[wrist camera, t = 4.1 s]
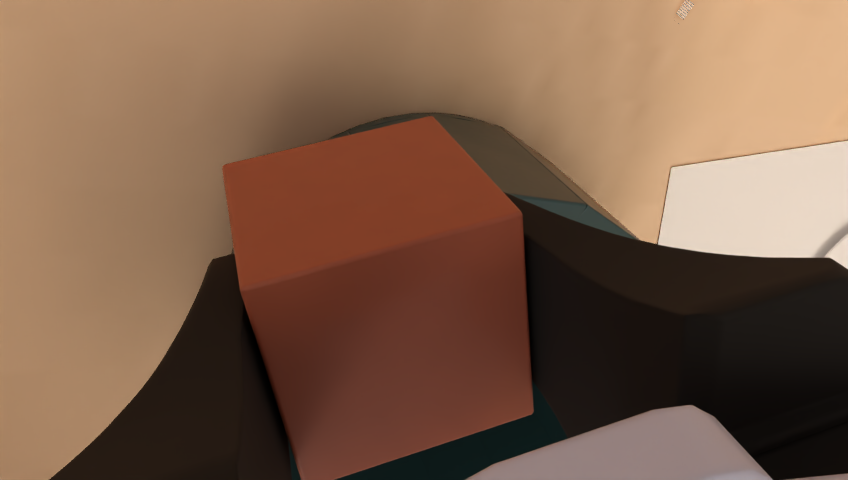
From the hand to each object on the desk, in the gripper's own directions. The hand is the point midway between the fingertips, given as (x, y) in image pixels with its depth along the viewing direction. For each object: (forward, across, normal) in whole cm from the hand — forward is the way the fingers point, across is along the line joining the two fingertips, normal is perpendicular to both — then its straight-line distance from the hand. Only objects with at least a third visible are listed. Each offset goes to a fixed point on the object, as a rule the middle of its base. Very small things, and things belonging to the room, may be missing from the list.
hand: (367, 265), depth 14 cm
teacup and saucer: (+10, -22, +16) cm, 29 cm away
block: (+1, 0, 0) cm, 1 cm away
